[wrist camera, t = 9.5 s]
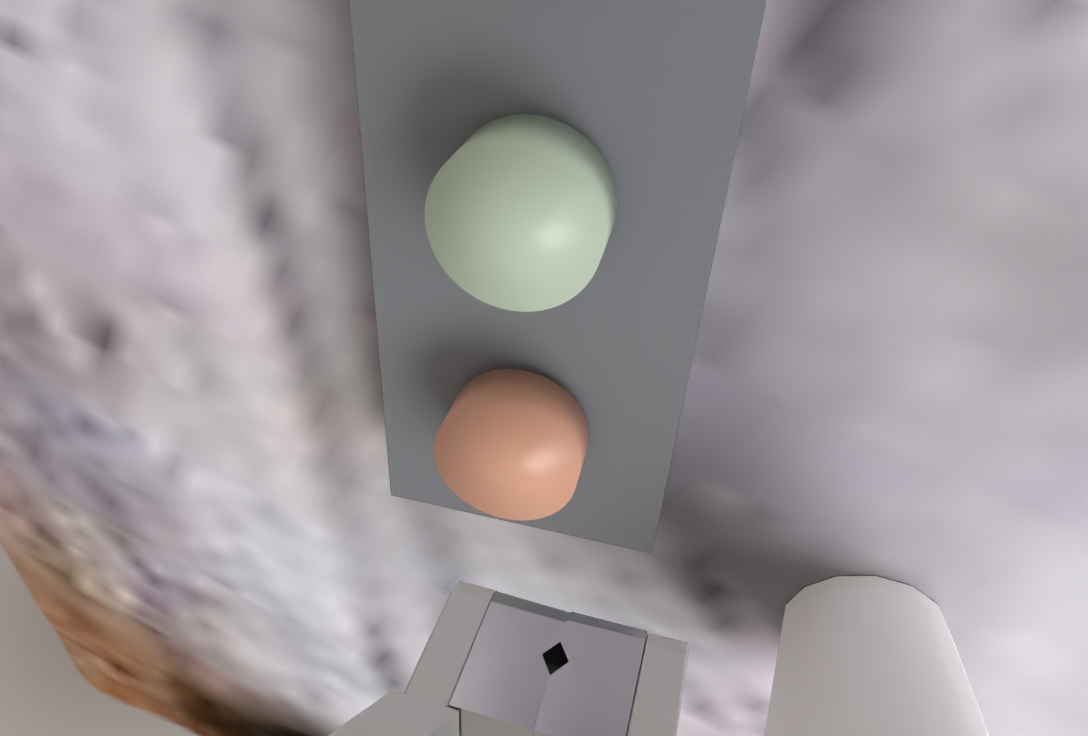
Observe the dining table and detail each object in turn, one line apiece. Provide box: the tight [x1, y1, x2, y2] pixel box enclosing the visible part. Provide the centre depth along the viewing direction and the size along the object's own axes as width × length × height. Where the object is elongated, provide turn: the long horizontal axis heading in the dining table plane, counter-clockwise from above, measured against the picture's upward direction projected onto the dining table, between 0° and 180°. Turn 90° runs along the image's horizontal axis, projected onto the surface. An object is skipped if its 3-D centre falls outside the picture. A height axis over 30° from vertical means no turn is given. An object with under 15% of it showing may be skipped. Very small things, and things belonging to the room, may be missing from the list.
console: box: [349, 0, 766, 553], centre depth 22 cm, size 10×26×3 cm, turn 177°
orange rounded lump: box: [433, 369, 589, 520], centre depth 26 cm, size 5×5×5 cm
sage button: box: [424, 114, 617, 312], centre depth 21 cm, size 5×5×5 cm
